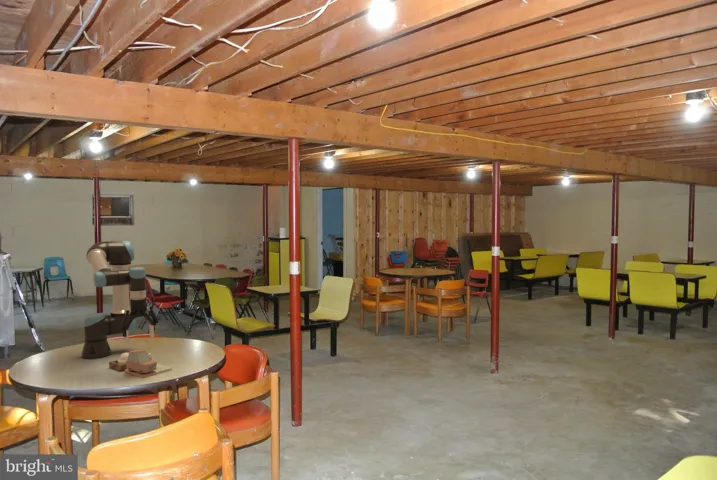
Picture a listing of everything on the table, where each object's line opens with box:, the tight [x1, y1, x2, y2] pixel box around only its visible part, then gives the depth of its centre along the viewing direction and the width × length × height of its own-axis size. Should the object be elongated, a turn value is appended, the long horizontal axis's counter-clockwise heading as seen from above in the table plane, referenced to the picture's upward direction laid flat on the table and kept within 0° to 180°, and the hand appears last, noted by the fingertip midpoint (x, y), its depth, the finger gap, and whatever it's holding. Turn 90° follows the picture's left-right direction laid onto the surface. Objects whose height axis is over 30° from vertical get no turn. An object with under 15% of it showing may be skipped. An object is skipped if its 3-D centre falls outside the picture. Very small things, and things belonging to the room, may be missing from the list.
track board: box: [124, 363, 173, 378], centre depth 277 cm, size 17×16×1 cm
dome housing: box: [108, 359, 127, 372], centre depth 285 cm, size 12×12×3 cm
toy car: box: [126, 348, 158, 374], centre depth 273 cm, size 9×15×10 cm, turn 60°
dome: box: [117, 352, 129, 365], centre depth 284 cm, size 8×8×7 cm
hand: (139, 340), depth 273 cm, fingers open, 13 cm apart
